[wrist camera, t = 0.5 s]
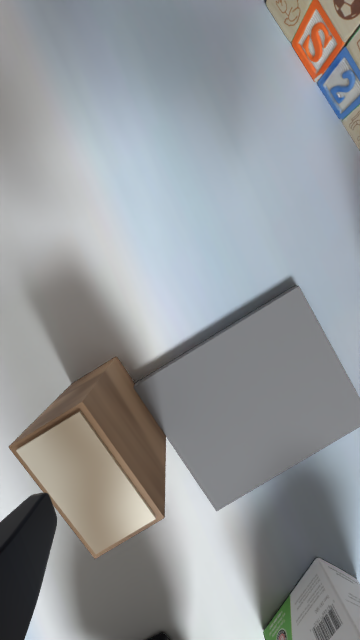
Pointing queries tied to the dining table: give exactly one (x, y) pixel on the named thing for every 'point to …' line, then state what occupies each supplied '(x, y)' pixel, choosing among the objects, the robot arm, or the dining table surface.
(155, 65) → the dining table surface
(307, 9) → the stack of blocks
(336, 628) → the ink box
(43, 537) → the robot arm
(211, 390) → the rubber mat
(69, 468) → the cream panel wooden box
